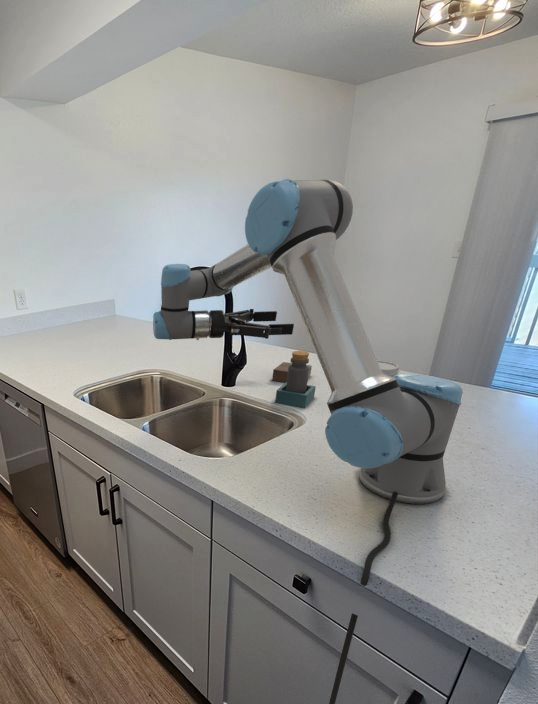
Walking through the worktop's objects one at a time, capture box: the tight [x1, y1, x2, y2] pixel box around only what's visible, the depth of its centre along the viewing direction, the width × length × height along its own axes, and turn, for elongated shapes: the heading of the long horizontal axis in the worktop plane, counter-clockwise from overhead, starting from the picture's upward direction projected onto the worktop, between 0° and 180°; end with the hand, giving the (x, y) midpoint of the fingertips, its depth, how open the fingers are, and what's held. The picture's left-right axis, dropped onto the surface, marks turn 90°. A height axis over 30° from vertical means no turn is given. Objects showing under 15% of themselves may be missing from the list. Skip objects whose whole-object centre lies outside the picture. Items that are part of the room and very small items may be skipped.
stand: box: [271, 361, 313, 384], centre depth 151 cm, size 10×10×4 cm
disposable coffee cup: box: [377, 360, 400, 377], centre depth 126 cm, size 10×10×12 cm
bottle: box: [286, 350, 310, 394], centre depth 131 cm, size 6×6×15 cm
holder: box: [274, 382, 316, 409], centre depth 133 cm, size 9×9×4 cm
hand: (284, 322), depth 121 cm, fingers open, 13 cm apart
